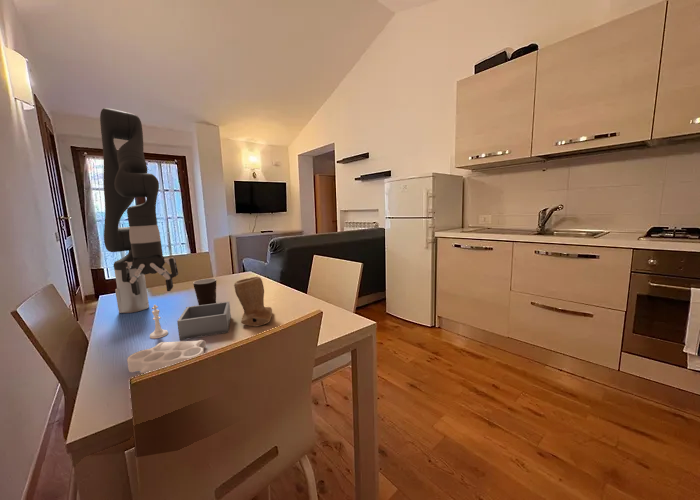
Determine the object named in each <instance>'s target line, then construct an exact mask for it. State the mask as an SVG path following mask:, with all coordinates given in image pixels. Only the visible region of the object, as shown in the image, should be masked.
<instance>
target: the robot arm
mask: <svg viewBox="0 0 700 500" xmlns="http://www.w3.org/2000/svg"><path fill="white" fill-rule="evenodd" d="M99 122H100V123H99V124H100V134H101V135H100V136H101V144H102V153H103V154H102V155H103V156H102V157H103V193H104V228H103V242H104V247H105V249H106V250H107V251H108V252H109V253H118V252H119V253H120V252H127V251H128V253H127V254H126V255H125V256H123V257H121V258H120V259H118V260H116V261H114V263H113V270H114V275H115V282H116V288H115V290H114V291H115V297H116V303H117V309H118V314H120V313H121V314H122V313H123V314H130V313H137V312H140V311H141V312H142V311H144V310H146V309H149V307H150V304H149V303H150V302H149V297H148V290H147V284H146V283H147V282H146V276H145V275H149V274H151V275H152V274H153V275H154V274H157V273H158V275H160V276H162V277H164V279H165V285H166V292H171V291H172V289H174V282H173V278H176V277H177V276H178V275H179V270H178V265H177V261H176V258H175V257H174V256H172V257H169V258H164V254H163V247H162V240H161V233H160V228H159V225H158V220H157V219H158V218H157V211H156V210H157V207H156V206H157V200H158V194H159V188H160V183H159V180H158V178H157V177H156V176H155V175H154V174H153V173H149V172H148V166H147V162H146V158H145V154H144V153H145V152H144V135H143V131H144V130H143V125H142V121H141V119H140V117H139V116H138V115H136V114H134V113H131V112H128V111H127V112H126V111H122V110H119V109H118V110H117V109H113V108H109V107H104V108H102V109H101V111H100V117H99ZM114 140H122V141H127V142H125V143H123V144H122V145H121V146H120V147H119V149H118V150H117V147H116V145H115V142H114ZM135 198H146V199H145V202H143V203H141V204H137V205H131V204H132V203H133V202H134V200H135ZM124 213H126V214H127V215H126V216H127V221H128V226H125V227H123V226H121V227H119V224H120V221H121V218H122V217H123V215H124ZM165 263H166V264H167V266H169V267H170V272H169V271H168V269H167V268H165V267H164V265H165Z"/></svg>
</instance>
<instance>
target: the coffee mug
mask: <svg viewBox="0 0 700 500" xmlns="http://www.w3.org/2000/svg"><path fill="white" fill-rule="evenodd" d="M192 284H193V288H194V292H195V296H196V300H197V304H198V305H206V304H214V303H217V279H216V278H202V279H198V280H195V281H193V282H192Z"/></svg>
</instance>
